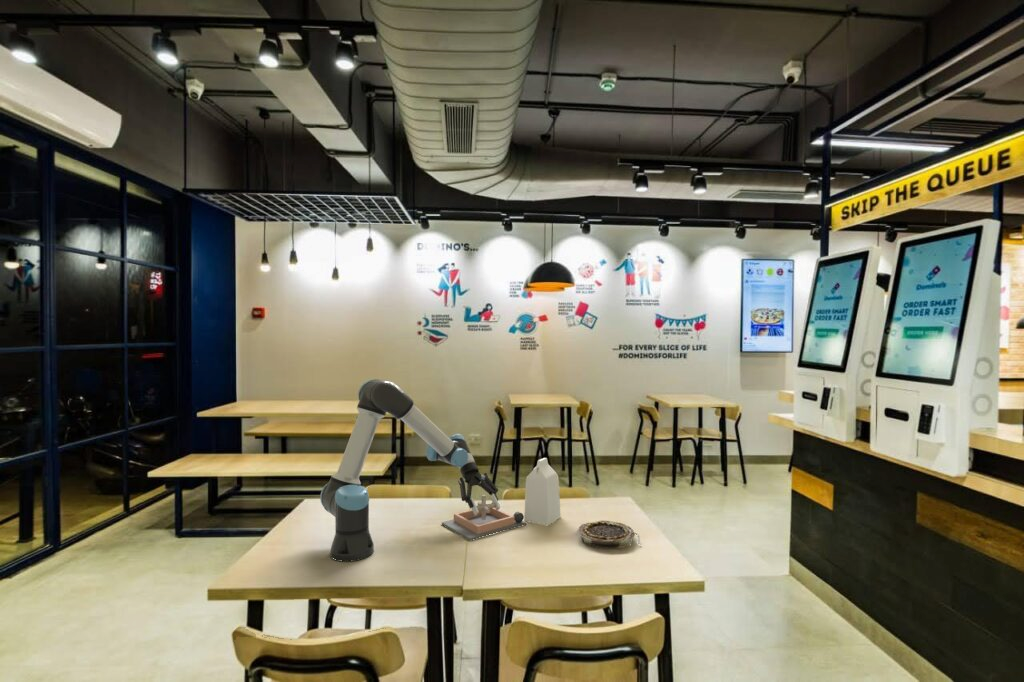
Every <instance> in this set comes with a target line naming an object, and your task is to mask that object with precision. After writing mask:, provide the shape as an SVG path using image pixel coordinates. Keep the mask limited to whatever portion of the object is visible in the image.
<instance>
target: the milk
mask: <svg viewBox="0 0 1024 682" xmlns="http://www.w3.org/2000/svg"><path fill="white" fill-rule="evenodd" d="M559 480H560V479H559V475H558V473H557V472H556V471H555V470H554V469H553V467H551V465H550V464H549V462H548V458H547V457H543V458H540V459H538V460H537V463H536V466H535V467H534V468H532V471H530V473H529V474H528V475H527V476H526V478H525V493H524V494H525V495H524V496H525V497H524V514H523V516H524V518H523V521H524V522H527V521H530V522H529V523H531V522H534V523H533V524H536V523H539V524H538V525H541V524H542V525H541V526H546V525H547V526H546V527H549V526H551V523H552V524H554V523H555V522H556V521H558V520H559V519H561V518H562V515H561V514H562V513H561V501H560V499H561V497H560V481H559ZM560 517H561V518H560ZM558 518H559V519H558ZM557 519H558V520H557ZM554 521H555V522H554ZM548 525H549V526H548Z"/></svg>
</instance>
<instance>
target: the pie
mask: <svg viewBox="0 0 1024 682" xmlns="http://www.w3.org/2000/svg"><path fill="white" fill-rule="evenodd" d="M578 527H579V528H578V533H579V535H580V536H581V538H582V539H583V543H584V544H586V545H589V546H593V547H595V548H601V549H604V548H605V549H621V548H620V547H622V548H624V547H623V546H626V547H631V546H630V544H631V543H632V542H633V541H632V540H633V539H634V538H635V536H636V535H638V540H637V541H638V544H640V545H642V546H643V543H641V542H640V535H639V533H636V532H634V529H632V527H631V526H629V525H627V524H625V523H623V522H622V523H621V522H617V521H611V520H598V521H592V522H586V523H581V524H580V526H578ZM635 534H636V535H635ZM631 541H632V542H631ZM638 544H637V545H638ZM631 545H632V544H631Z"/></svg>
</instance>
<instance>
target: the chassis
mask: <svg viewBox="0 0 1024 682" xmlns="http://www.w3.org/2000/svg"><path fill="white" fill-rule="evenodd" d="M492 503H493V502H492V501H491V503H490V504H492ZM499 505H500V503H499ZM500 506H501V505H500ZM489 509H490V512H489V513H487V512H486V519H485V520H482V510H478V511H479V513H478V514H477V515H476V516H475V515H474V513H473V511H472V509H468V510H464V511H461V512H455V513H453V519H449V520H446V521H442V522H441V525H442V524H443V525H445V526H446V527H445V526H444V527H445V528H447V527H448V528H449V529H448V528H447V529H448V530H450V529H451V531H452V530H453V531H454V532H453V531H452V532H453V533H455V532H456V534H457V533H458V534H457V535H459V536H460V535H461V537H463V538H464V539H465V540H468V541H469V540H472V541H474V540H473V539H475V540H477V539H476V538H479V537H482V536H486V535H489V534H493V533H496V532H500V531H503V530H507V529H510V530H512V529H511V528H514V527H517V528H519V527H518V526H521V527H523V526H522V525H524V526H526V525H527V521H524V514H523V513H522V512H520V511H515V513H514V514H513V515H512V514H510V513H507V512H505V511H504V510H501V507H500V508H499V509H498V510H497V511H496V509H495V508H489ZM443 525H442V526H443ZM514 529H515V528H514ZM507 531H508V530H507ZM503 532H504V531H503ZM500 533H501V532H500ZM496 534H497V533H496ZM493 535H494V534H493ZM489 536H490V535H489ZM486 537H487V536H486ZM482 538H483V537H482ZM479 539H480V538H479Z"/></svg>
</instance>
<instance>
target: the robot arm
mask: <svg viewBox="0 0 1024 682" xmlns="http://www.w3.org/2000/svg"><path fill="white" fill-rule="evenodd" d="M357 398H358V400H359V401H358V402H357V407H356V409H357V411H358V415H357V417H356V420H355V423H354V426H353V429H352V431H351V434H350V437H349V439H348V442H347V445H346V447H345V450H344V453H343V455H342V458H341V461H340V464H339V466H338V469H337V471H336V472H335V473H333V474H331V477H330V479H329V482H327V483H326V484H325V485H324V486H323V487H322V489H321V492H320V495H319V496H320V498H319V499H320V503H321V505H322V507H323V508H324V510H325V511H326V512H328V513H329V514H331V515H332V516H333V517H334V519H335V520H334V521H335V533H334V537H333V540H332V543H331V547H330V553H329V554H330V555H331V556H330V555H329V556H330V558H331V557H332V558H334V559H336V560H335V561H337V560H342V561H341V562H352V561H351V560H356V561H359V560H358V559H360V560H362V559H361V558H363V559H366V558H368V557H369V555H370V554H371V555H372V554H373V553H374V551H375V549H374V545H375V544H374V541H373V538H372V535H371V533H370V527H369V526H370V523H369V520H370V519H369V518H370V516H369V514H370V509H369V508H370V495H369V490H368V489H367V488H366V487H365V486H363V485H361V484H362V482H361V480H360V476H361V472H362V470H363V468H364V464H365V461H366V459H367V456H368V453H369V451H370V449H371V445H372V442H373V439H374V437H375V434H376V432H377V427H378V425H379V422H380V421H381V419H383V418H385V417H386V414H390V415H391V416H392V417H394V418H395V419H396V420H401V421H402V422H403V423H405V425H407V427H408V428H410V429H411V430H412V431H413V432H414V433H416V435H418V436H419V437H420V438H421V439H422V441H425V443H426V444H428V445H427V446H426V448H425V455H426V458H427V459H428V461H430V462H433V461H434V462H436V461H441V462H443V463H447V464H449V465H452V466H453V467H458V469H459V471H460V472H459V473H460V474H461V477H460V478H459V479H458V481H457V482H458V484H459V489H460V496H461V501H462V502H465V503H466V504H468V507H469V509H471V510H473V513H474V515H475V516H476V515H477V514H478V513H479V511H478V509H477V507H476V506H477V505H476V502H475V500H474V498H473V497H472V490H473V487H474V486H478V487H480V488H482V489H483V490H484V491H485V492H487V493H488V494H489V497H490V500H491V503H492V502H493V503H495V509H496V511H497V510H498V509H499V508H500V509H501V505H499V504H500V503H499V497H498V496H497V493H498V492H499V489H498V487H497V486H496V484H494V482H493V481H492V480H491V479H490V477H489V476H488V474H487V472H484V473H483V474H481V473H480V471H479V467H478V465H477V463H476V461H475V458H474V457H473V455H472V452H471V451H470V448H469V445H468V444H467V443H468V442H467V441H466V439H465V438H464V436H463V435H462V434H460V433H456V434H454V435H451V436H449V437H448V436H447V434H445V432H443V431H442V430H441V429H440V428H439V427H438V426H437V425H436V424H435V423H434V422H433V421H431V420H430V418H429V417H428V416H426V415H425V414H424V413H423V412H422V411H421V409H419V408H418V407H417V406H416V405H415V400H413V399H412V398H411V397H410V396H409V395H408V393H406V392H405V391H404V390H403V389H402V388H401V387H400V386H399V385H397V384H396V383H395V382H392V381H389V380H383V379H376V378H374V379H369V380H367V381H365V382H363V383H362V385H361V386H360V387H359V390H358V393H357ZM466 484H467V487H466ZM500 509H499V510H500ZM371 555H370V556H371ZM367 556H368V557H367ZM365 557H366V558H365ZM332 558H331V559H332ZM334 559H333V560H334Z"/></svg>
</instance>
